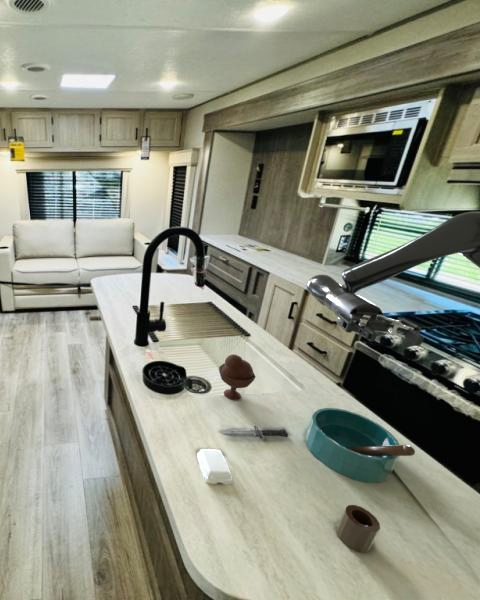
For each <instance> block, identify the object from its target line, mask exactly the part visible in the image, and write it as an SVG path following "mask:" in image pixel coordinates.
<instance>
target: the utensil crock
mask: <svg viewBox="0 0 480 600" xmlns="http://www.w3.org/2000/svg"><path fill="white" fill-rule="evenodd" d="M380 530H381V523H380V522H379V520H378V518H377V517H376V516H375V515H374V514H372V512H370V511H369V510H368V509H366V508H364V507H362V506H359V505H356V504H348V505H347V506H345V508H344V510H343V513H342V515H341V517H340V520H339V522H338V524H337V526H336V534H337V537H338V539H339V540H340V542H342V543H343V544H344V546H346V547H348V548H349V549H350V550H352V551H354V552H356V553H360V554H366V553H368V552H369V551H370V550H371V548H372V546H373V544H374V542H375V540H376V538H377V536H378V534H379V532H380Z"/></svg>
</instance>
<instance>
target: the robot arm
mask: <svg viewBox="0 0 480 600" xmlns="http://www.w3.org/2000/svg"><path fill="white" fill-rule="evenodd" d="M455 254H459V255H461V256H463V257H464V258H465V259H467V260H468V261H470V262H471V263H472V264H474V265H475V266H476V267H478V268H479V269H480V211H468V212H463V213H459V214H456V215H454V216H452V217H450V218H448V219H446V221H444V222H442V223H440V224H439V225H437V226H435V227H434V228H432V229H430V230H428V231H427V232H425V233H423V234H422V235H420V236H418V237H416V238H414V239H411V240H410V241H408V242H406V243H404V244H402V245H399V246H397V247H395V248H393V249H390V250H388V251H385V252H383V253H380V254H378V255H376V256H374V257H371V258H368V259H366V260H364V261H361V262H359V263H357V264H355V265H352V266H350V267H348V268H346V269H344V270H343V271H342V272H341V278H342V280H343V282H344V283H343V284H342V285H341V284H340V283H339V282H338V281H336V280H335V279H334V278H333V277H332V276H330V275H327V274H316V275H314V276H312V277H310V279H309V280H307V283H306V290H307V292H308V293H309V294H310V295H311V296H312V297H313V298H314V299H315V300H316V301H317V302H318V303H319V304H320V305H322V306H324V307H326V308H327V309H328V310H330V311H331V312H332V313H333V314H334V315H335V316H336V317H337V319H336V322H335V323H336V324H337V325H338V326H339V327H340V328H341V329H342V330H343V331H344V332H346V333H349V334H351V333H352V332H354V333H355V334H356V335H358V336H359V335H360V336H362V337H363V338H364V339H366V340H368V341H369V342H375V340H376V339H377V336H378V333H380V332H381V333H383V334H387V335H390V336H399V337H402V338H404V339H405V340H406V341H409V342H410V343H412V344H413V345H415V346H421V345H422V343H423V341H424V339H425V337H424V336H423V335H422V334H420V331H421V330H422V327H421V326H420V325H417V324H415V323H413V322H411V321H409V320H407V319H406V318H404V317H397V319H393V318H391V317H388V316H386V315H384V313H383V311H382V309H381V308H380V306H378V305H377V304H375V303H373V302H371V301H370V300H368V299H366V298H365V297H363V296H360V295H359V294H356V293H358V292H360V291H361V290H364V289H367V288H369V287H371V286H374V285H377V284H379V283H382V282H385V281H387V280H390V279H391V278H393V277H396V276H398V275H400V274H403V273H404V272H406V271H408V270H410V269H412V268H415V267H417V266H420V265H422V264H425V263H428V262H430V261H433V260H437V259H440V258H444V257H447V256H451V255H455ZM391 326H393V327H392V330H390V329H391Z"/></svg>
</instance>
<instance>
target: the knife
mask: <svg viewBox="0 0 480 600" xmlns="http://www.w3.org/2000/svg"><path fill="white" fill-rule="evenodd" d="M253 428H254V429H236V430H229V431H222V432H221V434H222V435H225V436H228V437H259V439H261V440H262V441H265V440H266V437H285V438H287V437H289V433H288V432H287V430H286V429H285V428H282V429H281V428H280V429H260V428H258V426H257V425H254V427H253Z"/></svg>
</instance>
